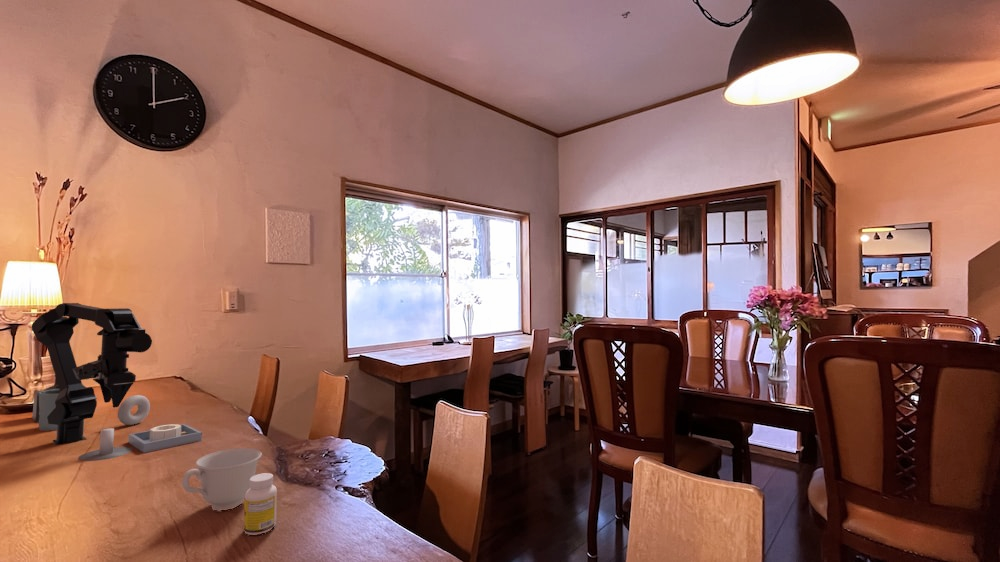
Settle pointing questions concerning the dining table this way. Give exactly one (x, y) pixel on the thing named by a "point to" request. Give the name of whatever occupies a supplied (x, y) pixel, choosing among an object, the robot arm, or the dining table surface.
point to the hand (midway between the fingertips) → (111, 404)
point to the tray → (143, 438)
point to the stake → (105, 448)
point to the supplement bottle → (260, 504)
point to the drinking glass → (47, 408)
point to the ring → (165, 432)
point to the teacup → (224, 476)
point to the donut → (127, 405)
